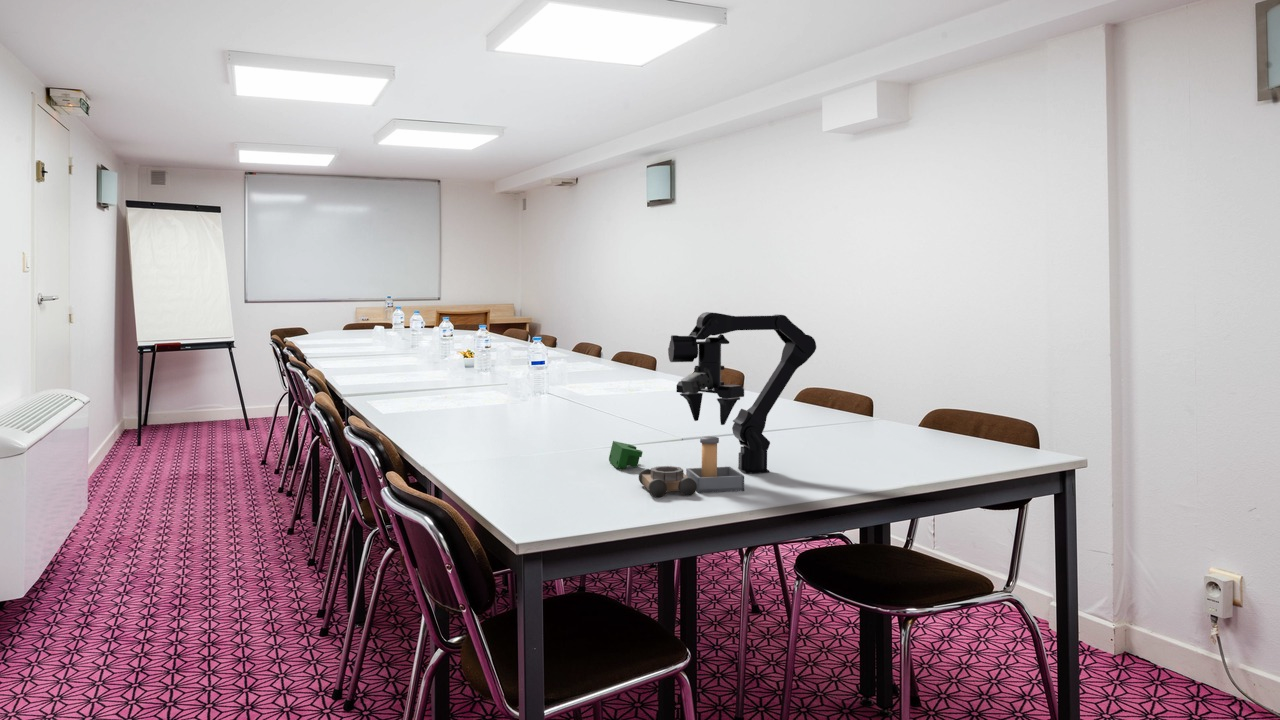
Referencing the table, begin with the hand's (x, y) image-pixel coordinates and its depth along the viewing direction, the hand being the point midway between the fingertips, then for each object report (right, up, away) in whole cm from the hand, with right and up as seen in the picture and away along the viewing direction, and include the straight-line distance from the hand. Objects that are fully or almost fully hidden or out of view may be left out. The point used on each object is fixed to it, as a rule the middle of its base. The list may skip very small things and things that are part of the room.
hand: (709, 422), depth 210 cm
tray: (0, -14, -14) cm, 20 cm away
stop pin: (-1, -13, -15) cm, 20 cm away
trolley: (-11, -14, -18) cm, 26 cm away
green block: (-21, -13, +11) cm, 27 cm away
